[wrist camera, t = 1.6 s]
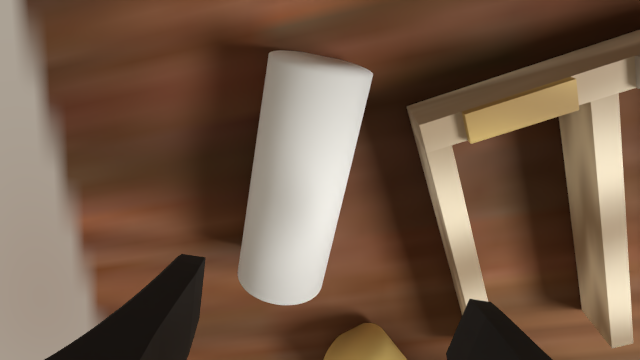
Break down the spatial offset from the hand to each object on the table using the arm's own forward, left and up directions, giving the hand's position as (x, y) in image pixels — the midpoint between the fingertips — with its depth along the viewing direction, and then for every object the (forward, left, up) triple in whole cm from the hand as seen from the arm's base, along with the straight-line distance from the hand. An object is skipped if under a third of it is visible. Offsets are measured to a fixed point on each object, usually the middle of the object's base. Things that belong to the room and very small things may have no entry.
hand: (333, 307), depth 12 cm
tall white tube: (+1, +1, -8) cm, 8 cm away
